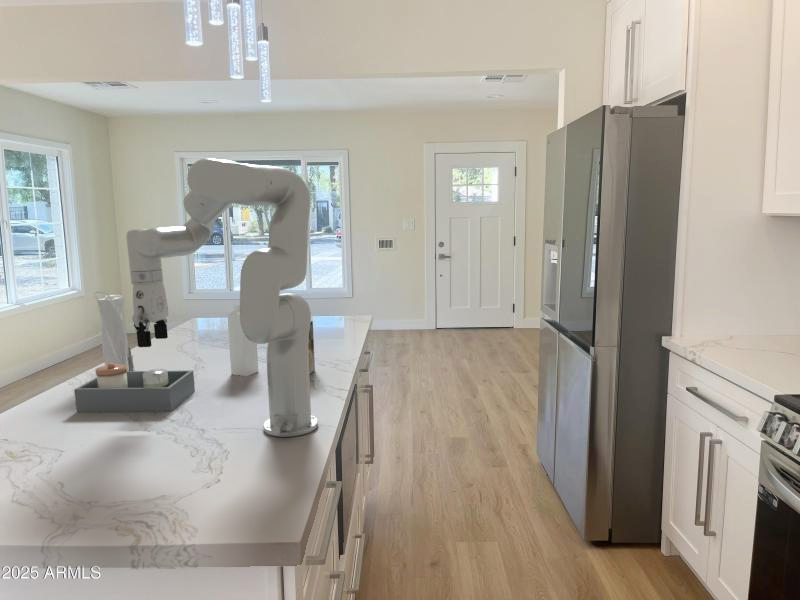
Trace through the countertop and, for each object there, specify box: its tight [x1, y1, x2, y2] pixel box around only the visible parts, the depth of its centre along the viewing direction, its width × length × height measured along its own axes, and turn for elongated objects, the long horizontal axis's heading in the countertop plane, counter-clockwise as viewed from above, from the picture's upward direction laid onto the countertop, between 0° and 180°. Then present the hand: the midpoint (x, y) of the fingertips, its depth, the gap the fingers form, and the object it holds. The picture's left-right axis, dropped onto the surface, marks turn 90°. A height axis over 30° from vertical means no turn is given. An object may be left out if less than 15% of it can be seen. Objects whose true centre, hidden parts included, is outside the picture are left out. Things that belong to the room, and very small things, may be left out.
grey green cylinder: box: [143, 368, 169, 388], centre depth 151 cm, size 6×6×8 cm
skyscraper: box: [93, 290, 136, 371], centre depth 170 cm, size 8×8×28 cm
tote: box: [74, 369, 196, 414], centre depth 151 cm, size 16×24×7 cm, turn 89°
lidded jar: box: [94, 363, 128, 388], centre depth 151 cm, size 7×7×10 cm
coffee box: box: [308, 320, 316, 375], centre depth 176 cm, size 9×6×16 cm
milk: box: [227, 303, 259, 377], centre depth 178 cm, size 6×6×22 cm
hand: (153, 342), depth 149 cm, fingers open, 9 cm apart
